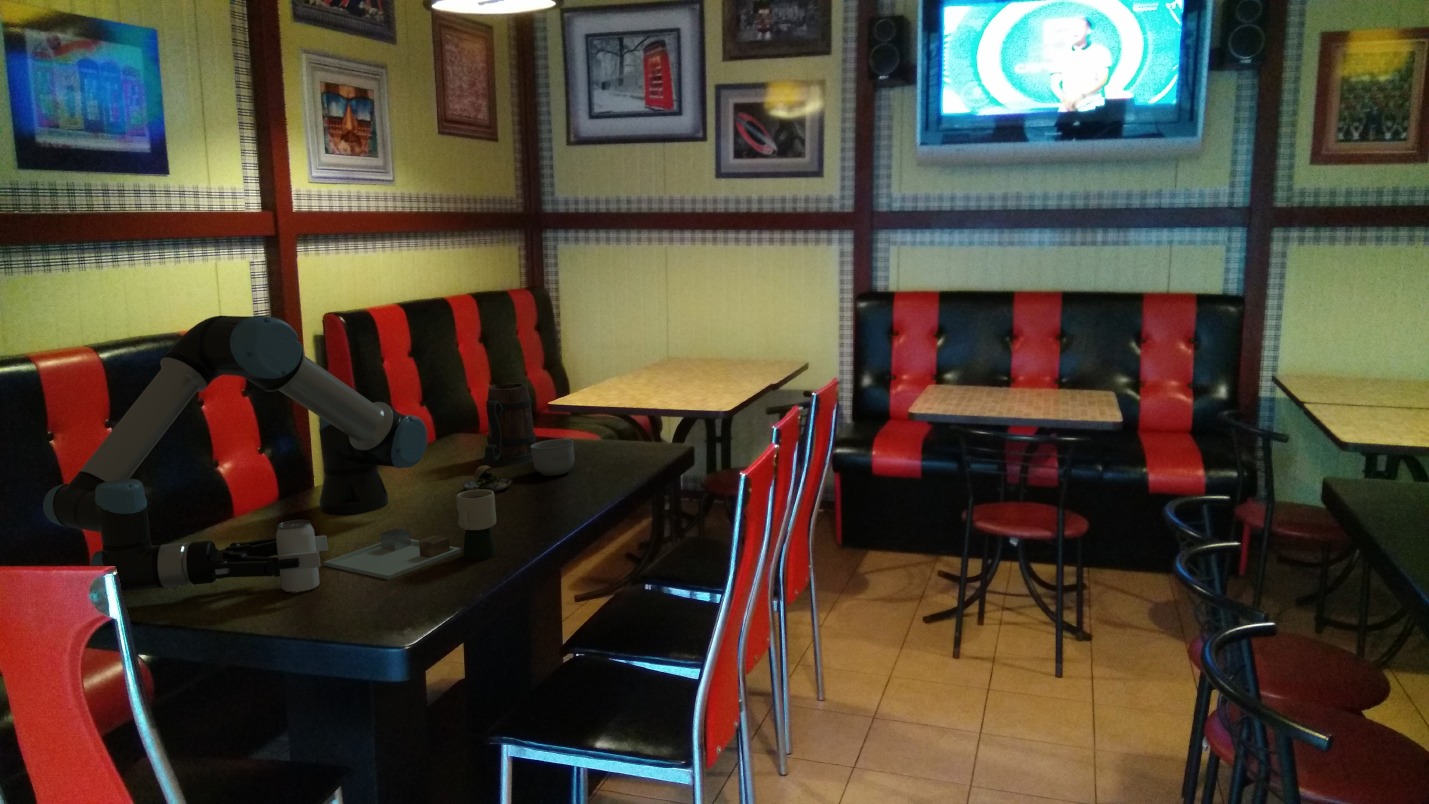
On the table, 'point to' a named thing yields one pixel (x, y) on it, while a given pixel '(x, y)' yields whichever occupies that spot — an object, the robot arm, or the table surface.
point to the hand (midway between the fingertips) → (323, 550)
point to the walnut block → (433, 546)
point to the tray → (386, 560)
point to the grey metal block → (395, 539)
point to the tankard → (509, 425)
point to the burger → (486, 481)
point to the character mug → (477, 523)
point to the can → (297, 540)
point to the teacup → (553, 456)
